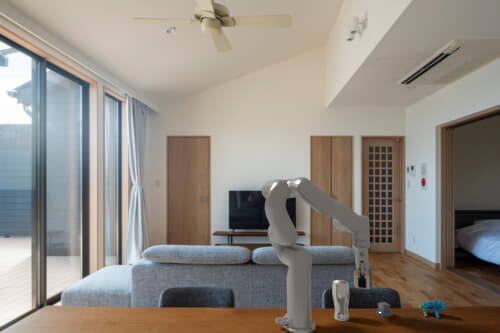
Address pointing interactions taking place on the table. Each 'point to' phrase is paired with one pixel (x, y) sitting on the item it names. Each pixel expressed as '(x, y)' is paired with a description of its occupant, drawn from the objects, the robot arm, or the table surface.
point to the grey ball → (384, 310)
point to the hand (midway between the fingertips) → (361, 285)
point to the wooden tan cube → (356, 276)
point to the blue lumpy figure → (433, 307)
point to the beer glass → (341, 299)
